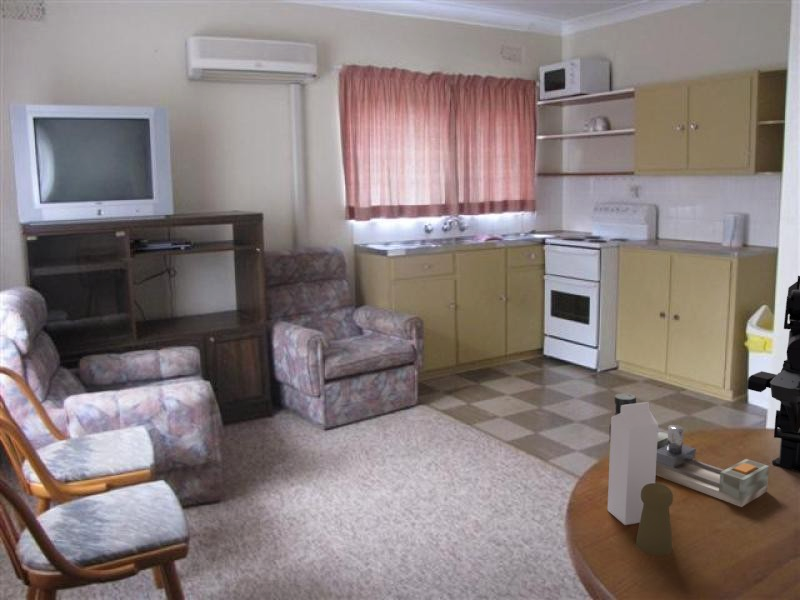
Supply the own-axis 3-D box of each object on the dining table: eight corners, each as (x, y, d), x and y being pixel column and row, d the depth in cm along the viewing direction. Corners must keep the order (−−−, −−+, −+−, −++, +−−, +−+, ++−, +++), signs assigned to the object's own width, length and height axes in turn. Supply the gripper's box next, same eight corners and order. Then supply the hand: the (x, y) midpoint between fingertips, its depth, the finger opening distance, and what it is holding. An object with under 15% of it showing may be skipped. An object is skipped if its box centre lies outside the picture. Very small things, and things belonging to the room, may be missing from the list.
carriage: (673, 450, 159) (675, 420, 158) (695, 457, 155) (697, 426, 154) (652, 460, 154) (654, 428, 153) (674, 467, 150) (676, 435, 149)
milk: (653, 521, 134) (660, 407, 130) (624, 525, 133) (630, 411, 128) (634, 506, 140) (640, 396, 136) (606, 510, 138) (611, 400, 134)
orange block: (743, 476, 145) (744, 462, 145) (755, 480, 143) (756, 466, 143) (732, 482, 143) (733, 468, 142) (744, 486, 141) (746, 472, 140)
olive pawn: (675, 556, 122) (679, 496, 120) (637, 553, 123) (640, 493, 121) (669, 538, 128) (673, 480, 126) (633, 535, 129) (636, 477, 127)
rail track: (659, 454, 163) (660, 431, 162) (766, 491, 145) (769, 465, 144) (632, 466, 157) (633, 442, 156) (741, 507, 139) (743, 480, 138)
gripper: (735, 353, 143) (729, 428, 146) (838, 374, 128) (829, 457, 131) (763, 343, 150) (757, 416, 153) (864, 363, 135) (855, 442, 138)
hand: (796, 432), depth 143 cm, fingers closed
